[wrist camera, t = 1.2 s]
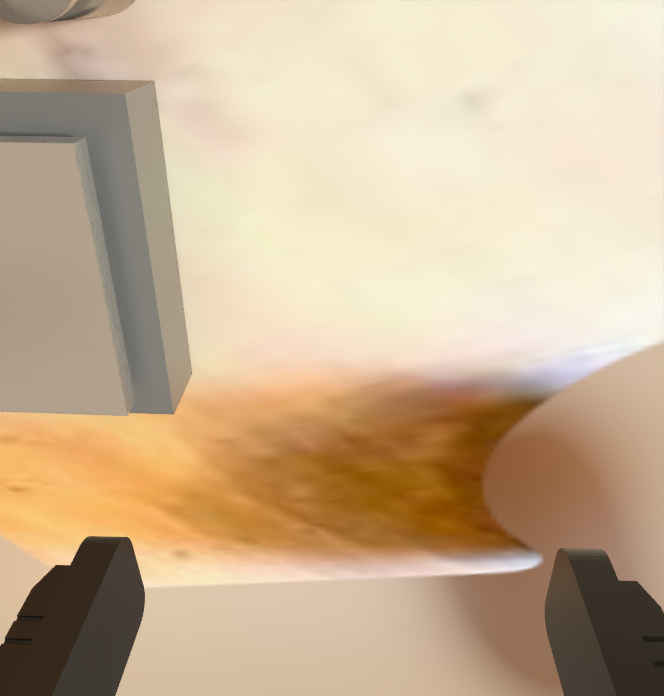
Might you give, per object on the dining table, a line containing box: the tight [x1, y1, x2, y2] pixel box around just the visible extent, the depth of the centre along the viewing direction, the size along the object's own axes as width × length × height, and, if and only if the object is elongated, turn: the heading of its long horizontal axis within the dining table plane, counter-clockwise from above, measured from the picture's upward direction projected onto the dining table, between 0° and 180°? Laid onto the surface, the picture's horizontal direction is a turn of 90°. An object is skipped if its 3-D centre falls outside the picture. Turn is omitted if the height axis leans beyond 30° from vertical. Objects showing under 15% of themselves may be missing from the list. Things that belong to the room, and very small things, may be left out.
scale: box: [0, 79, 192, 414], centre depth 31 cm, size 16×16×4 cm
